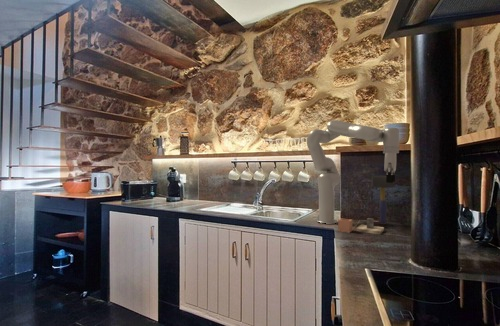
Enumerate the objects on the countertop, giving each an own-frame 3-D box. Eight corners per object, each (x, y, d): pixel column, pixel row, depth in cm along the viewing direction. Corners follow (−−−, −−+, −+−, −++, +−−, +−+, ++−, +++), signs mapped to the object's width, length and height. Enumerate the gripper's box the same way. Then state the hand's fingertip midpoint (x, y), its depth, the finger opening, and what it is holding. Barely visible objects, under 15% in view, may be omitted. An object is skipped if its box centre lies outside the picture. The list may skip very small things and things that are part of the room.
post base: (356, 231, 143) (356, 219, 143) (361, 227, 152) (361, 215, 152) (380, 234, 136) (380, 221, 136) (383, 230, 145) (383, 218, 145)
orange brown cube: (338, 231, 142) (338, 220, 142) (341, 229, 147) (341, 218, 147) (349, 232, 139) (349, 221, 139) (352, 230, 144) (352, 219, 144)
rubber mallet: (393, 223, 162) (393, 175, 163) (395, 226, 155) (395, 175, 156) (371, 222, 167) (371, 175, 167) (372, 224, 160) (372, 175, 160)
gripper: (385, 151, 150) (385, 181, 150) (381, 149, 136) (380, 182, 136) (400, 151, 146) (400, 181, 146) (397, 149, 132) (397, 183, 131)
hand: (390, 182), depth 141 cm, fingers open, 9 cm apart
